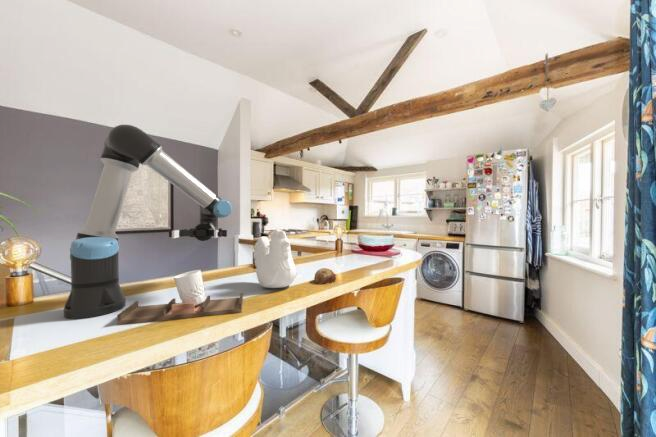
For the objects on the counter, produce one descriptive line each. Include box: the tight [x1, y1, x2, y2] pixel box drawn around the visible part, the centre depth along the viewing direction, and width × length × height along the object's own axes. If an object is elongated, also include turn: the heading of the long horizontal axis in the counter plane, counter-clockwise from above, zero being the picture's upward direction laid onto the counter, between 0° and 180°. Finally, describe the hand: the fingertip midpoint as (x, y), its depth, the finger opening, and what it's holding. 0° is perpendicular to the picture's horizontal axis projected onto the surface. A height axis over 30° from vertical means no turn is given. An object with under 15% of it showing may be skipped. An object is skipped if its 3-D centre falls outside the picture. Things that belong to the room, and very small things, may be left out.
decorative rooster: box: [252, 228, 298, 289], centre depth 117 cm, size 25×16×25 cm, turn 35°
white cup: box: [173, 269, 207, 305], centre depth 86 cm, size 8×8×10 cm
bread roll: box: [313, 267, 337, 285], centre depth 123 cm, size 10×10×8 cm
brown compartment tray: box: [116, 292, 244, 326], centre depth 85 cm, size 33×12×4 cm, turn 106°
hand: (194, 234), depth 94 cm, fingers open, 13 cm apart
